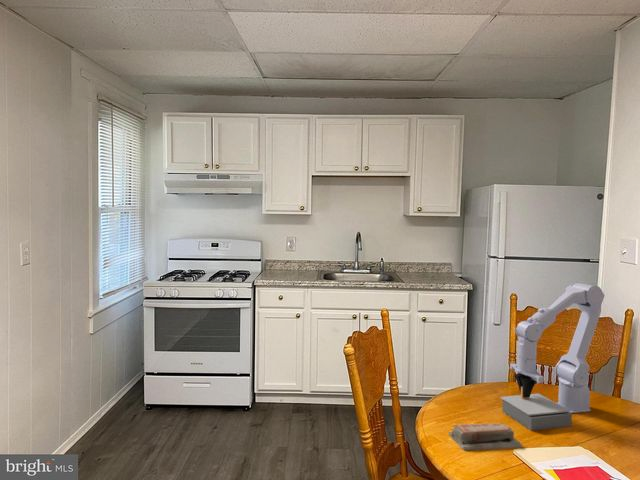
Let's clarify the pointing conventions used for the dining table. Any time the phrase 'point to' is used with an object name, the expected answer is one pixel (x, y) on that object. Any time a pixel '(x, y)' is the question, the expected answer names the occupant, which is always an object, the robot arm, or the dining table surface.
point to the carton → (537, 418)
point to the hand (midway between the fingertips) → (525, 396)
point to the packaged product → (484, 436)
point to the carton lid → (534, 404)
